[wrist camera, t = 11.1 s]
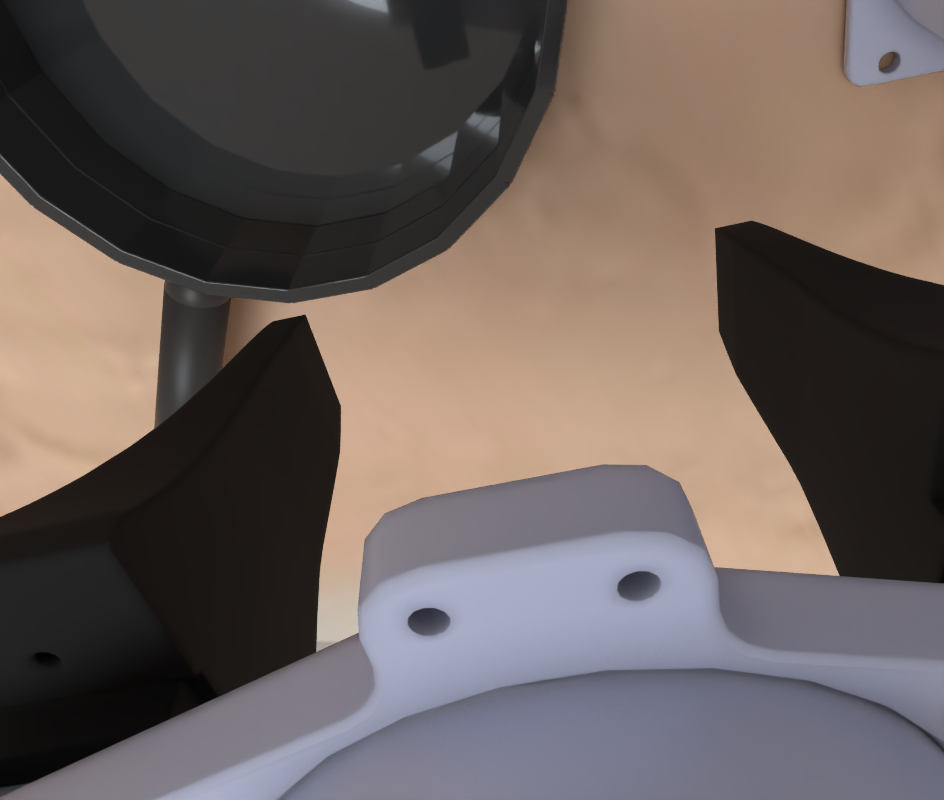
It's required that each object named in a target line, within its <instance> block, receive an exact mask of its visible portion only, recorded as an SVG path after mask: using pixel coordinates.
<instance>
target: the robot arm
mask: <svg viewBox="0 0 944 800" xmlns="http://www.w3.org/2000/svg"><path fill="white" fill-rule="evenodd" d="M889 52H895V58H894V61H893V62H892V63H891V65H890V66H888V67H886V68H884V69H879V67H878V64H879V61H880V59H881V58H882V57H883V55H884V54H886V53H889ZM843 68H844V73H845V76H846V77H847V78H848V80H849V81H850V82H851V83H853V84H855V85H857V86H870V85H875V84H880V83H885V82H890V81H894V80H899V79H904V78H909V77H914V76H919V75H924V74H929V73H934V72H939V71H944V0H847V2H846V24H845V45H844V67H843ZM715 240H716V266H717V291H718V316H719V332H720V335H721V337H722V340H723V343H724V345H725V348H726V350H727V353H728V356H729V358H730V360H731V363H732V365H733V368H734V370H735V372H736V375H737V377H738V378H739V380H740V382H741V384H742V385H743V387H744V389H745V390H746V392H747V394H748V395H749V397H750V399H751V401H752V402H753V404H754V406H755V407H756V409H757V411H758V412H759V414H760V416H761V417H762V419H763V421H764V422H765V424H766V425H767V427H768V429H769V430H770V432H771V434H772V435H773V437H774V439H775V440H776V442H777V444H778V445H779V447H780V449H781V450H782V452H783V454H784V455H785V457H786V459H787V460H788V462H789V464H790V465H791V467H792V469H793V471H794V473H795V475H796V477H797V479H798V480H799V482H800V484H801V486H802V489H803V491H804V493H805V495H806V498H807V500H808V502H809V504H810V507H811V509H812V511H813V514H814V516H815V518H816V520H817V523H818V525H819V527H820V529H821V532H822V534H823V537H824V539H825V541H826V544H827V546H828V549H829V551H830V554H831V556H832V558H833V561H834V563H835V566H836V568H837V570H838V573H839V575H840V576H830V575H816V574H802V573H788V572H774V571H760V570H746V569H732V568H717V567H714V566H713V563H712V560H711V558H710V555H709V552H708V550H707V547H706V544H705V542H704V539H703V536H702V534H701V531H700V528H699V526H698V523H697V520H696V518H695V515H694V512H693V510H692V508H691V505H690V503H689V501H688V499H687V497H686V495H685V493H684V491H683V489H682V487H681V485H680V483H679V482H678V481H676V480H674V479H672V478H670V477H668V476H666V475H664V474H662V473H660V472H658V471H657V470H655V469H653V468H651V467H649V466H647V465H598V466H593V467H587V468H582V469H576V470H571V471H566V472H560V473H555V474H549V475H544V476H539V477H533V478H528V479H522V480H517V481H512V482H506V483H501V484H495V485H490V486H485V487H479V488H474V489H468V490H463V491H458V492H452V493H447V494H441V495H436V496H431V497H425V498H421V499H419V500H416V501H414V502H411V503H409V504H407V505H404V506H402V507H399V508H397V509H394V510H392V511H390V512H387V513H385V514H384V515H383V517H382V518H381V519H380V521H379V522H378V523H377V524H376V526H375V527H374V528H373V529H372V531H371V532H370V533H369V535H368V536H367V537H366V538H365V542H364V552H363V562H362V572H361V582H360V592H359V602H358V625H359V633H357V634H355V635H353V636H351V637H348V638H346V639H344V640H342V641H340V642H337V643H335V644H333V645H331V646H329V647H327V648H324V649H322V650H320V651H318V652H316V640H317V611H318V593H319V576H320V565H321V557H322V550H323V544H324V538H325V533H326V527H327V522H328V517H329V511H330V506H331V500H332V495H333V489H334V484H335V478H336V472H337V466H338V460H339V454H340V436H341V405H340V403H339V400H338V398H337V395H336V393H335V390H334V387H333V385H332V382H331V380H330V377H329V374H328V372H327V369H326V367H325V364H324V362H323V359H322V356H321V354H320V351H319V349H318V346H317V343H316V341H315V338H314V336H313V333H312V331H311V328H310V325H309V323H308V320H307V318H306V315H301V316H297V317H292V318H287V319H282V320H278V321H273V322H271V323H270V324H269V325H267V326H266V327H265V328H264V329H263V330H261V331H260V332H259V333H258V334H257V335H256V336H255V337H254V338H253V339H252V340H251V341H250V342H249V343H248V344H247V345H246V346H245V347H244V348H243V349H242V350H241V351H240V352H239V353H238V354H237V355H236V356H235V357H234V358H233V359H232V360H231V361H230V362H229V363H228V364H227V365H226V366H225V367H224V368H223V369H222V370H221V371H220V372H219V373H218V374H217V375H216V376H215V377H214V378H213V379H212V380H211V381H209V382H208V383H207V384H206V385H205V386H204V387H203V388H202V389H201V390H199V391H198V392H197V393H196V394H195V395H194V396H193V397H192V398H191V399H190V400H188V401H187V402H186V403H185V404H184V405H183V406H182V407H181V408H180V409H178V410H177V411H176V412H175V413H174V414H173V415H171V416H170V417H169V418H168V419H166V420H165V421H164V422H163V423H161V424H160V425H159V426H158V427H156V428H155V429H153V430H152V431H151V432H149V433H148V434H147V435H145V436H144V437H143V438H141V439H140V440H139V441H137V442H136V443H134V444H133V445H131V446H130V447H129V448H127V449H126V450H124V451H122V452H121V453H119V454H118V455H116V456H114V457H113V458H111V459H110V460H108V461H106V462H105V463H103V464H102V465H100V466H98V467H97V468H95V469H94V470H92V471H90V472H89V473H87V474H86V475H84V476H82V477H80V478H79V479H77V480H75V481H73V482H71V483H69V484H68V485H66V486H64V487H62V488H60V489H58V490H56V491H54V492H52V493H50V494H48V495H46V496H44V497H42V498H40V499H38V500H36V501H34V502H32V503H30V504H28V505H26V506H24V507H22V508H20V509H18V510H15V511H13V512H11V513H8V514H6V515H4V516H1V517H0V800H944V285H940V284H936V283H932V282H927V281H923V280H919V279H915V278H910V277H906V276H903V275H899V274H895V273H892V272H888V271H885V270H882V269H879V268H876V267H873V266H870V265H867V264H864V263H861V262H858V261H855V260H852V259H849V258H846V257H844V256H841V255H838V254H836V253H833V252H831V251H828V250H825V249H823V248H820V247H818V246H815V245H813V244H811V243H808V242H806V241H803V240H801V239H799V238H796V237H794V236H791V235H789V234H787V233H784V232H782V231H779V230H777V229H774V228H772V227H769V226H767V225H764V224H761V223H758V222H754V221H748V222H744V223H739V224H734V225H729V226H725V227H720V228H715Z"/></svg>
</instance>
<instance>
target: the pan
mask: <svg viewBox="0 0 944 800" xmlns="http://www.w3.org/2000/svg"><path fill="white" fill-rule="evenodd" d="M567 7H568V0H0V174H1V175H2V176H3V177H4V178H5V179H6V180H7V181H8V182H9V183H10V184H11V185H12V186H13V187H14V188H15V189H16V190H17V191H18V192H19V193H20V194H21V195H22V197H23V198H24V199H25V200H26V201H27V202H28V203H29V204H30V205H32V206H33V207H34V208H35V209H37V210H38V211H40V212H41V213H43V214H44V215H46V216H48V217H49V218H51V219H52V220H54V221H55V222H57V223H58V224H60V225H61V226H63V227H64V228H66V229H67V230H69V231H70V232H72V233H73V234H75V235H76V236H78V237H79V238H81V239H83V240H84V241H86V242H87V243H89V244H90V245H92V246H93V247H95V248H96V249H98V250H99V251H101V252H102V253H104V254H105V255H107V256H108V257H110V258H111V259H113V260H115V261H118V262H119V263H120V264H123V265H126V266H129V267H131V268H134V269H137V270H139V271H142V272H145V273H148V274H150V275H153V276H156V277H158V278H161V279H164V280H167V281H169V282H172V283H175V284H177V285H180V286H183V287H186V288H188V289H191V290H194V291H196V292H199V293H202V294H206V295H214V296H224V297H234V298H243V299H253V300H263V301H272V302H282V303H291V302H292V303H297V302H302V301H308V300H313V299H319V298H325V297H330V296H336V295H341V294H347V293H353V292H358V291H364V290H369V289H373V288H376V287H378V286H380V285H382V284H384V283H385V282H387V281H389V280H391V279H393V278H395V277H397V276H399V275H401V274H403V273H405V272H406V271H408V270H410V269H412V268H414V267H416V266H418V265H420V264H422V263H424V262H425V261H427V260H429V259H431V258H433V257H435V256H437V255H439V254H441V253H443V252H445V251H446V250H448V249H449V248H450V247H451V246H452V245H453V244H454V243H455V242H456V241H457V240H458V239H459V238H460V237H461V236H462V235H463V234H464V233H465V232H466V231H467V230H468V229H469V228H470V227H471V226H472V225H473V224H474V223H475V221H476V220H477V219H478V218H479V217H480V216H481V215H482V214H483V213H484V212H485V211H486V210H487V209H488V208H489V207H490V206H491V205H492V204H493V203H494V202H495V201H496V200H497V199H498V198H499V197H500V196H501V194H502V193H503V192H504V191H505V190H506V189H507V188H508V187H509V186H510V184H511V183H512V182H513V180H514V177H515V175H516V173H517V171H518V169H519V167H520V165H521V163H522V161H523V159H524V157H525V155H526V152H527V150H528V148H529V146H530V144H531V142H532V140H533V138H534V136H535V134H536V132H537V130H538V127H539V125H540V123H541V121H542V119H543V117H544V115H545V113H546V111H547V109H548V107H549V105H550V102H551V100H552V98H553V96H554V92H555V89H556V82H557V76H558V69H559V62H560V55H561V48H562V41H563V35H564V28H565V21H566V14H567Z"/></svg>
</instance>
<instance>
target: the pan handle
mask: <svg viewBox="0 0 944 800" xmlns="http://www.w3.org/2000/svg"><path fill="white" fill-rule="evenodd" d="M230 301H231V297H224V296H214V295H206V294H202V293H199V292H196V291H194V290H191V289H188V288H186V287H183V286H180V285H177V284H175V283H172V282H169V281H167V280H165V284H164V296H163V311H162V325H161V340H160V354H159V369H158V383H157V397H156V412H155V426H154V429H155V428H156V427H158V426H159V425H160V424H161V423H163V422H164V421H165V420H166V419H168V418H169V417H170V416H171V415H173V414H174V413H175V412H176V411H177V410H178V409H180V408H181V407H182V406H183V405H184V404H185V403H186V402H187V401H188V400H190V399H191V398H192V397H193V396H194V395H195V394H196V393H197V392H198V391H199V390H201V389H202V388H203V387H204V386H205V385H206V384H207V383H208V382H209V381H211V380H212V379H213V378H214V377H215V376H216V375H217V374H218V373H219V372H220V371H221V370H222V362H223V354H224V347H225V339H226V332H227V324H228V316H229V309H230Z"/></svg>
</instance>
